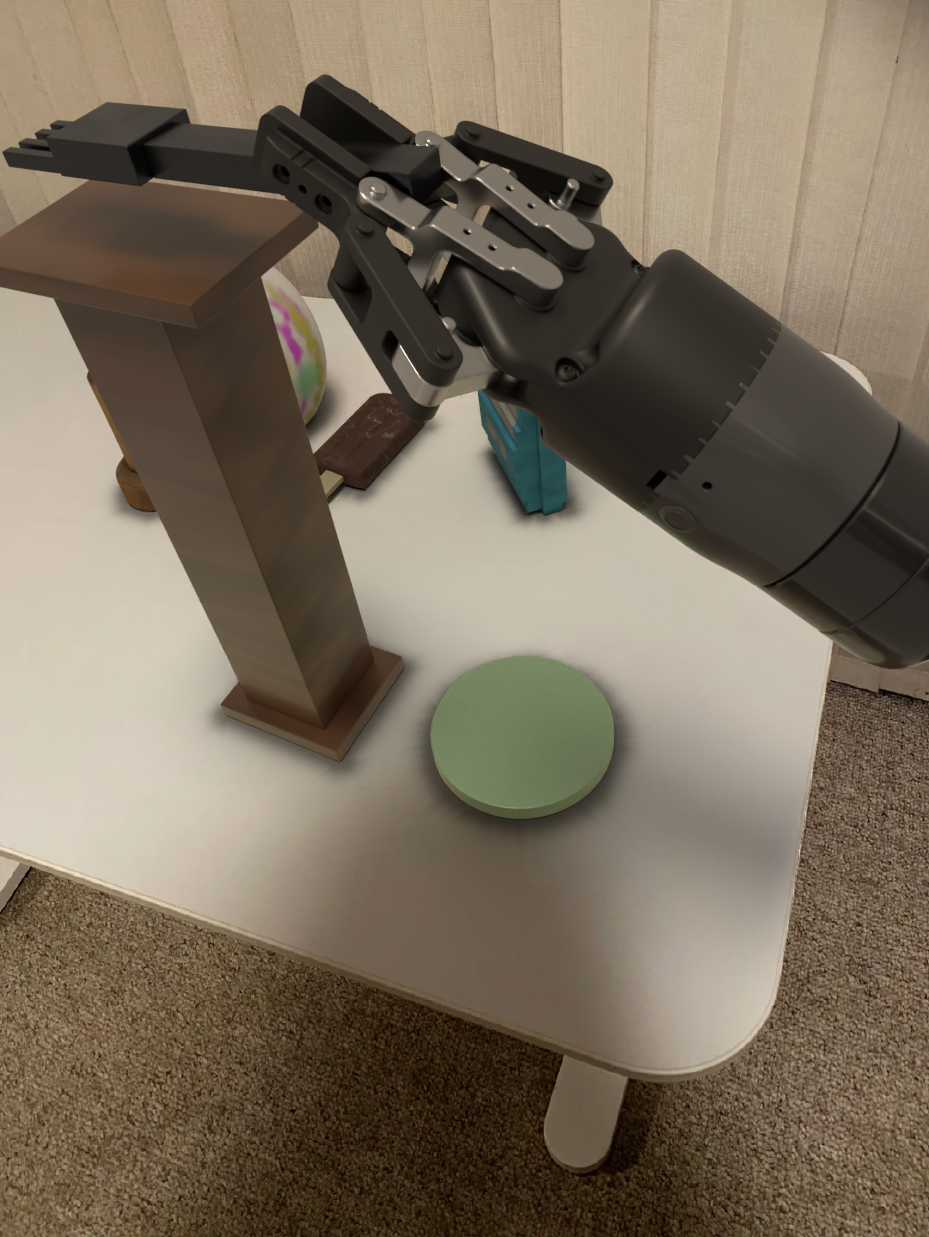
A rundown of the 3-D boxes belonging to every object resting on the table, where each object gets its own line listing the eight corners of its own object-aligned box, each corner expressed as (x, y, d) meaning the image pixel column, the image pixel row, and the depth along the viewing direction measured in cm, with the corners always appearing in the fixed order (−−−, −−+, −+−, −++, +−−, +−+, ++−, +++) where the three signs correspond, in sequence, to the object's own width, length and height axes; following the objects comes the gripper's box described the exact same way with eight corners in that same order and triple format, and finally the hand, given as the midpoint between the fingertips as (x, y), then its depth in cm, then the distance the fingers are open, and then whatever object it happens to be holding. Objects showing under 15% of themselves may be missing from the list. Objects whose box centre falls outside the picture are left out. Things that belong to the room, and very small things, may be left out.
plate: (570, 847, 51) (569, 837, 50) (400, 778, 55) (396, 767, 54) (640, 699, 57) (641, 687, 56) (482, 647, 61) (481, 635, 60)
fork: (403, 222, 29) (396, 177, 28) (5, 169, 36) (-13, 131, 35) (454, 175, 31) (448, 131, 30) (66, 133, 38) (51, 96, 37)
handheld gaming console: (574, 510, 69) (568, 332, 58) (522, 525, 69) (506, 349, 57) (530, 436, 75) (517, 263, 64) (482, 449, 75) (461, 278, 64)
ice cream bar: (328, 529, 71) (430, 418, 79) (324, 514, 69) (428, 402, 77) (275, 511, 73) (380, 404, 81) (269, 495, 72) (376, 388, 79)
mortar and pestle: (175, 517, 74) (80, 313, 60) (109, 504, 76) (4, 304, 62) (218, 465, 78) (138, 263, 64) (154, 454, 80) (64, 255, 66)
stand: (360, 770, 56) (190, 305, 33) (207, 707, 60) (-37, 260, 37) (424, 674, 60) (314, 203, 37) (277, 622, 65) (97, 174, 42)
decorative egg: (198, 471, 77) (130, 309, 66) (204, 388, 85) (144, 231, 74) (342, 444, 78) (299, 278, 66) (334, 364, 86) (294, 204, 75)
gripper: (837, 241, 32) (421, -64, 31) (712, 492, 24) (157, 95, 23) (712, 382, 38) (364, 131, 37) (582, 616, 30) (141, 307, 30)
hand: (286, 119), depth 30 cm, fingers closed on fork
